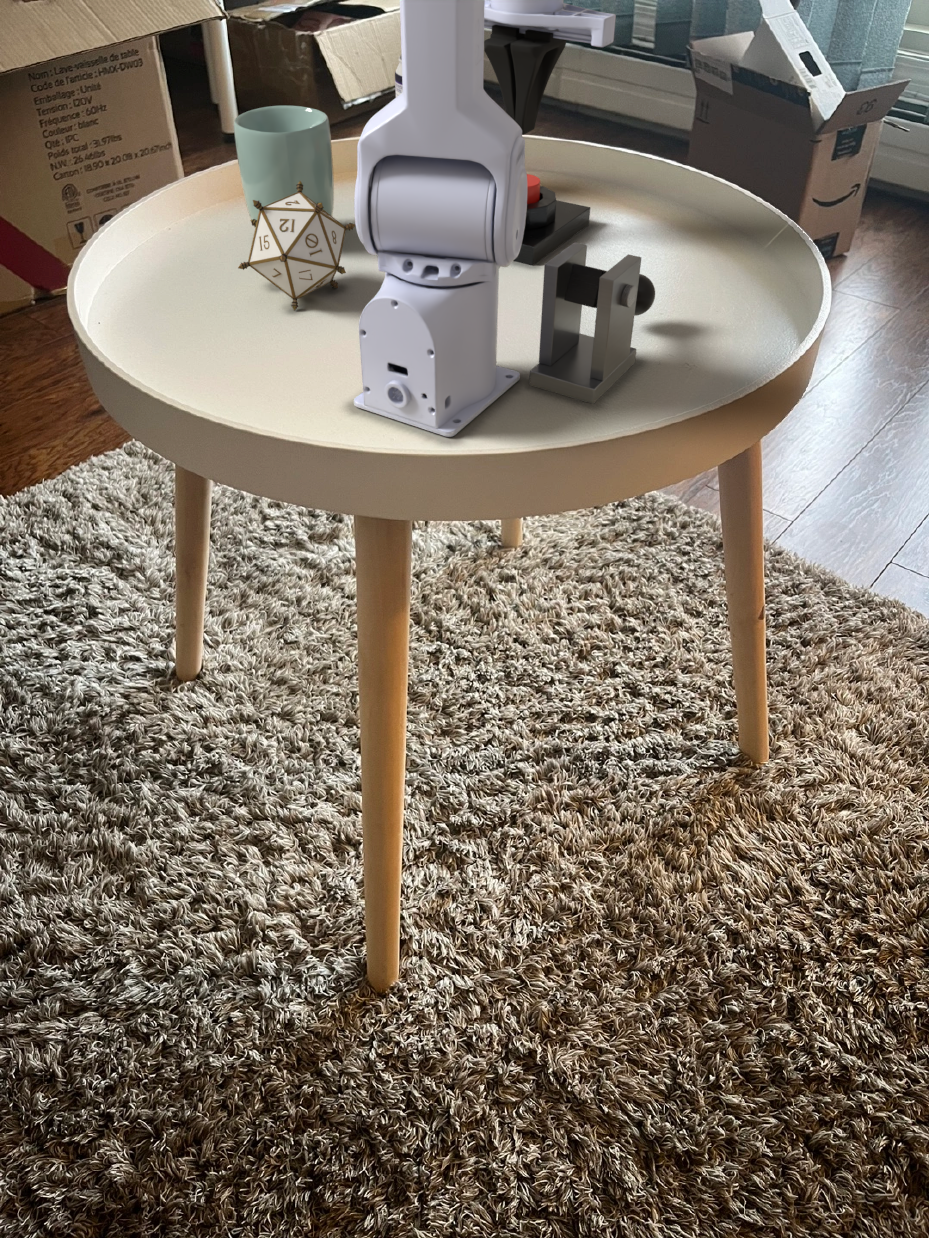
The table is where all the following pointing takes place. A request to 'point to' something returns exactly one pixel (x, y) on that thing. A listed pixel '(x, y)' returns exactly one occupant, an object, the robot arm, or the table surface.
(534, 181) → the stop button
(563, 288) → the switch bracket
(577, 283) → the switch lever
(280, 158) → the cup
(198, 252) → the table surface
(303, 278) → the game die
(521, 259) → the control block
